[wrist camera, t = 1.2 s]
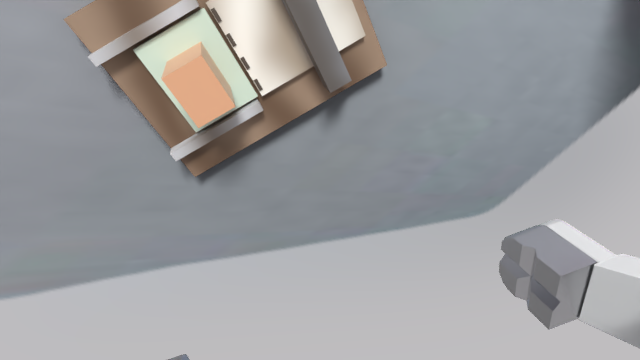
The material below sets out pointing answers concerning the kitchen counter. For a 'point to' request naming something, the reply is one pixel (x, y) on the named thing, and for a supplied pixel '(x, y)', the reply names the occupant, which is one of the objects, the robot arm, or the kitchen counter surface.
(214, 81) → the orange block with base
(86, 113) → the kitchen counter surface
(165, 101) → the ticket board
